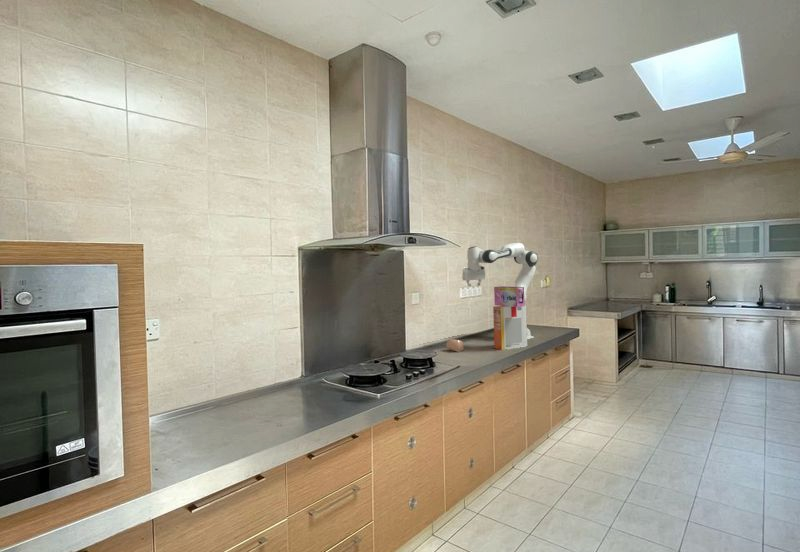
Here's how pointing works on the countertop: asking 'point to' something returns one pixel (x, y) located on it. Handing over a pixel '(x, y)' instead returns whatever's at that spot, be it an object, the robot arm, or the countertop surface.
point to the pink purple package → (509, 296)
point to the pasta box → (510, 327)
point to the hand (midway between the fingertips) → (474, 285)
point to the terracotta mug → (454, 345)
